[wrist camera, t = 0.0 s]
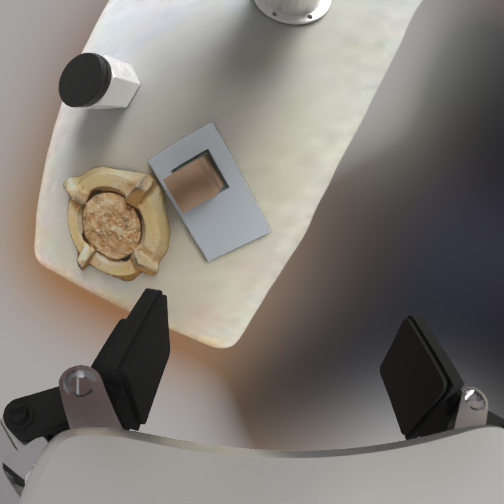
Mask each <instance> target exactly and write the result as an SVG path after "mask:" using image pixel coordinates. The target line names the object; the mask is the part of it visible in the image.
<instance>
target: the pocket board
mask: <svg viewBox="0 0 504 504" xmlns="http://www.w3.org/2000/svg"><path fill="white" fill-rule="evenodd" d="M205 155H208V156H209V158H210V160H211V161H212V163H213V165H214V167H215V169H216V170H217V172H218V174H219V176H220V178H221V179H222V181H223V183H224V185H223V186H222V188H221V189H220V191H219V192H218V193H217V195H215V196H214V197H212V198H210V199H208V200H206V201H204V202H202V203H201V204H199V205H197V206H195V207H193V208H191V209H190V210H188V211H186V212H184V213H182V212H181V210H180V208H179V207H178V205H177V203H176V201H175V200H174V198H173V196H172V195H171V193H170V191H169V190H168V188H167V186H166V184H165V183H164V181H163V179H165V178H166V177H168V176H170V175H171V174H173V173H174V172H176V171H178V170H179V169H181V168H183V167H184V166H186V165H188V164H190V163H191V162H193V161H195V160H196V159H199V158H201V157H203V156H205ZM148 162H149V164H150V165H151V167H152V169H153V171H154V172H155V174H156V176H157V178H158V179H159V181H160V183H161V184H162V186H163V188H164V190H165V191H166V193H167V195H168V196H169V198H170V200H171V201H172V203H173V205H174V206H175V208H176V210H177V211H178V213H179V215H180V216H181V218H182V220H183V221H184V223H185V225H186V226H187V228H188V230H189V231H190V233H191V235H192V236H193V238H194V239H195V241H196V243H197V244H198V246H199V247H200V249H201V251H202V252H203V254H204V255H205V257H206V259H207V260H208V261H211V260H213V259H215V258H217V257H219V256H221V255H223V254H225V253H227V252H229V251H232V250H234V249H236V248H238V247H240V246H242V245H244V244H246V243H249V242H251V241H253V240H255V239H257V238H259V237H261V236H263V235H266V234H268V233H270V232H271V227H270V226H269V224H268V222H267V220H266V218H265V216H264V214H263V212H262V210H261V209H260V207H259V205H258V203H257V201H256V199H255V197H254V195H253V194H252V192H251V190H250V188H249V186H248V184H247V182H246V181H245V179H244V177H243V175H242V173H241V171H240V169H239V168H238V166H237V164H236V162H235V160H234V159H233V157H232V155H231V153H230V151H229V149H228V148H227V146H226V144H225V142H224V140H223V139H222V137H221V135H220V133H219V131H218V130H217V128H216V126H215V124H214V123H213V122H210V123H208V124H206V125H204V126H203V127H201V128H199V129H197V130H196V131H194V132H192V133H191V134H189V135H187V136H186V137H184V138H182V139H181V140H179V141H177V142H176V143H174V144H173V145H171V146H169V147H168V148H166V149H165V150H163V151H162V152H160V153H159V154H157V155H155V156H154V157H152V158H151V159H149V160H148Z"/></svg>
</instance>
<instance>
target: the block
mask: <svg viewBox="0 0 504 504" xmlns="http://www.w3.org/2000/svg"><path fill="white" fill-rule="evenodd" d="M163 181H164V183H165V184H166V186H167V188H168V190H169V191H170V193H171V195H172V196H173V198H174V200H175V201H176V203H177V205H178V207H179V208H180V210H181V212H182V213H184V212H186V211H188V210H190V209H191V208H193V207H195V206H197V205H199V204H201V203H202V202H204V201H206V200H208V199H210V198H212V197H214V196H215V195H217V193H218V192H219V191H220V189H221V188H222V186H223V185H224V183H223V181H222V179H221V178H220V176H219V174H218V172H217V170H216V169H215V167H214V165H213V163H212V161H211V160H210V158H209V156H208V155H205V156H203V157H201V158H199V159H196V160H195V161H193V162H191V163H190V164H188V165H186V166H184V167H183V168H181V169H179V170H178V171H176V172H174V173H173V174H171V175H170V176H168V177H166V178H165V179H163Z"/></svg>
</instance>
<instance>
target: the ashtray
mask: <svg viewBox="0 0 504 504" xmlns="http://www.w3.org/2000/svg"><path fill="white" fill-rule="evenodd" d="M63 187H64V189H65V190H66V192H67V193H68V194H69V195H70V200H69V205H68V225H69V230H70V233H71V237H72V239H73V241H74V244H75V246H76V248H77V250H78V257H77V263H78V266H79V267H80V268H81V270H84V269H85V268H86V267H87V266H89V265H92V266H93V267H95V268H97V269H98V270H99V271H102V272H104V273H106V274H109V275H112V276H114V277H119V278H121V279H122V280H125V281H131V280H133V279H135V278H136V277H137V275H139V274H140V273H142V272H144V273H146V274H148V275H152V276H154V275H156V274H157V273H158V271H159V262H160V260H161V259H162V258H163V257H164V255H165V254H166V252H167V250H168V246H169V237H170V230H169V223H168V218H167V213H166V209H165V200H164V194H163V191H162V189H161V187H160V186H159V184H158V182H157V180H156V179H155V177H154V176H152V175H151V174H144V173H138V172H130V171H124V170H118V169H112V168H107V167H97V168H93V169H91V170H90V171H88V172H87V173H84V174H83V175H81V176H79V177H69V178H68V179H67V180H66V181H65V182H64V184H63Z"/></svg>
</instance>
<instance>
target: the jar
mask: <svg viewBox="0 0 504 504" xmlns="http://www.w3.org/2000/svg"><path fill="white" fill-rule="evenodd" d="M139 86H140V82H139V80H138V78H137V76H136V74H135V71H134V69H133V67H132V65H130V64H128V63H126V62H123V61H121V60H118V59H116V58H113V57H110V56H108V55H98V54H95V53H83V54H80V55H78V56H76V57H75V58H74V59H72V60H71V61H70V62H69V63H68V64H67V66H66V67H65V69H64V71H63V72H62V75H61V77H60V81H59V93H60V97H61V99H62V101H63V102H64V103H65V104H66V105H68V106H70V107H75V108H89V109H112V108H123V107H127V106H128V104H129V103H130V101H131V99H132V98H133V96H134V94H135V93H136V91H137V90H138V88H139Z"/></svg>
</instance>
